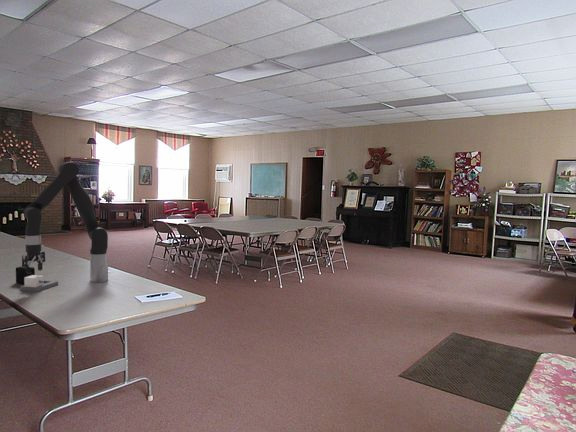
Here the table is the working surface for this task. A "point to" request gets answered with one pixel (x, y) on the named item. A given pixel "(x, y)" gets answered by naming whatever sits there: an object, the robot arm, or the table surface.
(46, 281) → the socket plate
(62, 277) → the table surface
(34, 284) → the plug
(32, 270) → the electronic device
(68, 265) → the table surface
